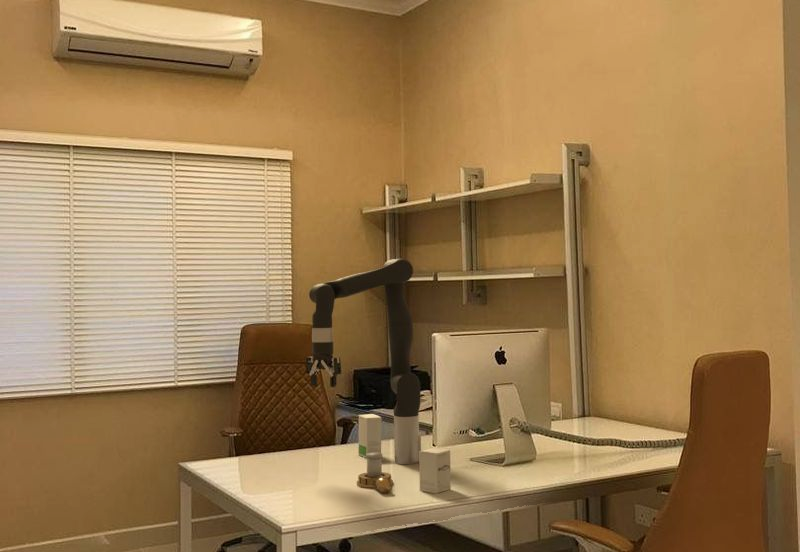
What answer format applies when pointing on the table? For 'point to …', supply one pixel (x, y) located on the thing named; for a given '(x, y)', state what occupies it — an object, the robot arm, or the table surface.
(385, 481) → the bronze ring
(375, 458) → the grey flanged cylinder
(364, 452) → the skincare box
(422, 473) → the supplement box
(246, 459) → the table surface
